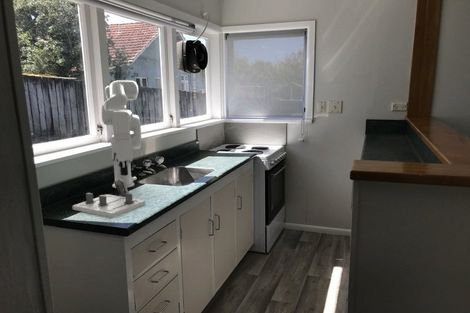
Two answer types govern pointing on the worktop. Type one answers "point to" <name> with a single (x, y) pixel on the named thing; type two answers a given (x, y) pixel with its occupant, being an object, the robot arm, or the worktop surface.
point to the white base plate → (109, 206)
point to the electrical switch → (121, 187)
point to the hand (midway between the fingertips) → (124, 174)
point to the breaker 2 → (102, 200)
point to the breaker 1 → (89, 198)
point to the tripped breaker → (128, 198)
